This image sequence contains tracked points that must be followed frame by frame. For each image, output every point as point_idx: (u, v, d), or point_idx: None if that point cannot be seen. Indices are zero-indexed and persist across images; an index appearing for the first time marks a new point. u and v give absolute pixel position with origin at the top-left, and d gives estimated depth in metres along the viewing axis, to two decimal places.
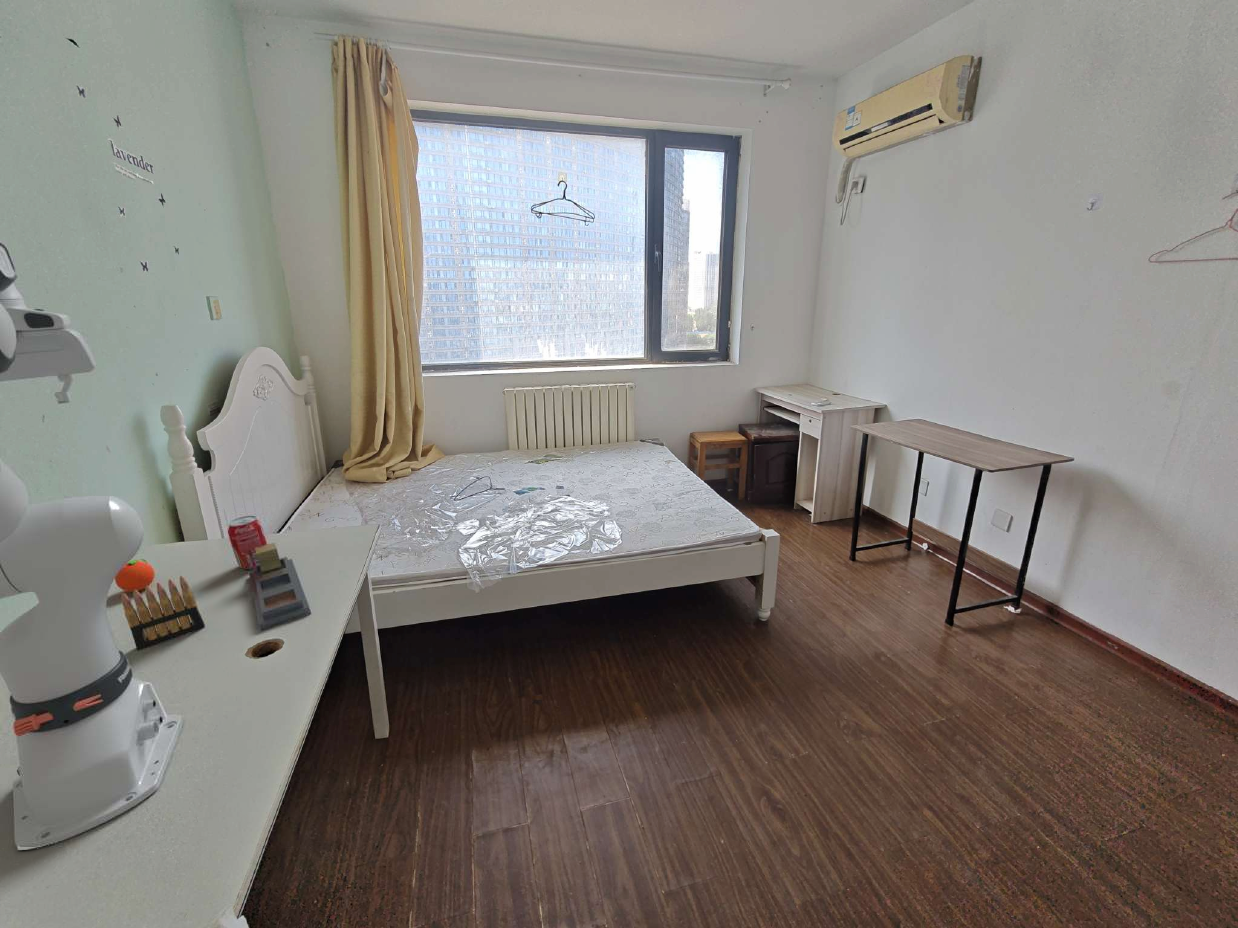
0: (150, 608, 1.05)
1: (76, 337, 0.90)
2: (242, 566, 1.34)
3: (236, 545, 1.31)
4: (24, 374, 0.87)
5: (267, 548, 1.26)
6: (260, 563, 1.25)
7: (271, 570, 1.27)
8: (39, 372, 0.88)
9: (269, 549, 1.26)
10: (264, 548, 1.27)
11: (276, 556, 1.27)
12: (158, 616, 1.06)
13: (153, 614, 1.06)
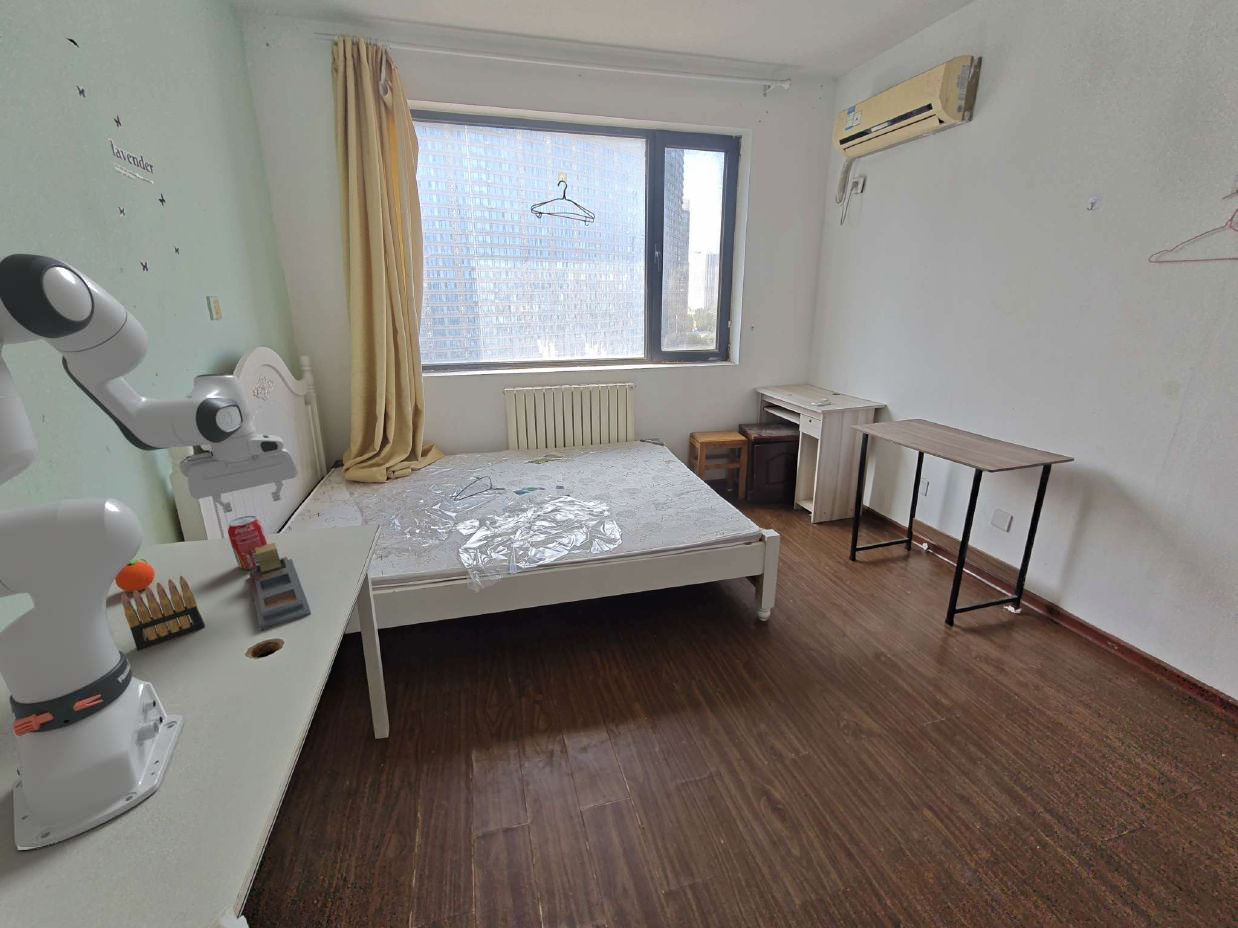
0: (150, 608, 1.05)
1: (289, 454, 1.24)
2: (242, 566, 1.34)
3: (236, 545, 1.31)
4: (256, 483, 1.21)
5: (267, 548, 1.26)
6: (260, 563, 1.25)
7: (271, 570, 1.27)
8: (264, 481, 1.22)
9: (269, 549, 1.26)
10: (264, 548, 1.27)
11: (276, 556, 1.27)
12: (158, 616, 1.06)
13: (153, 614, 1.06)
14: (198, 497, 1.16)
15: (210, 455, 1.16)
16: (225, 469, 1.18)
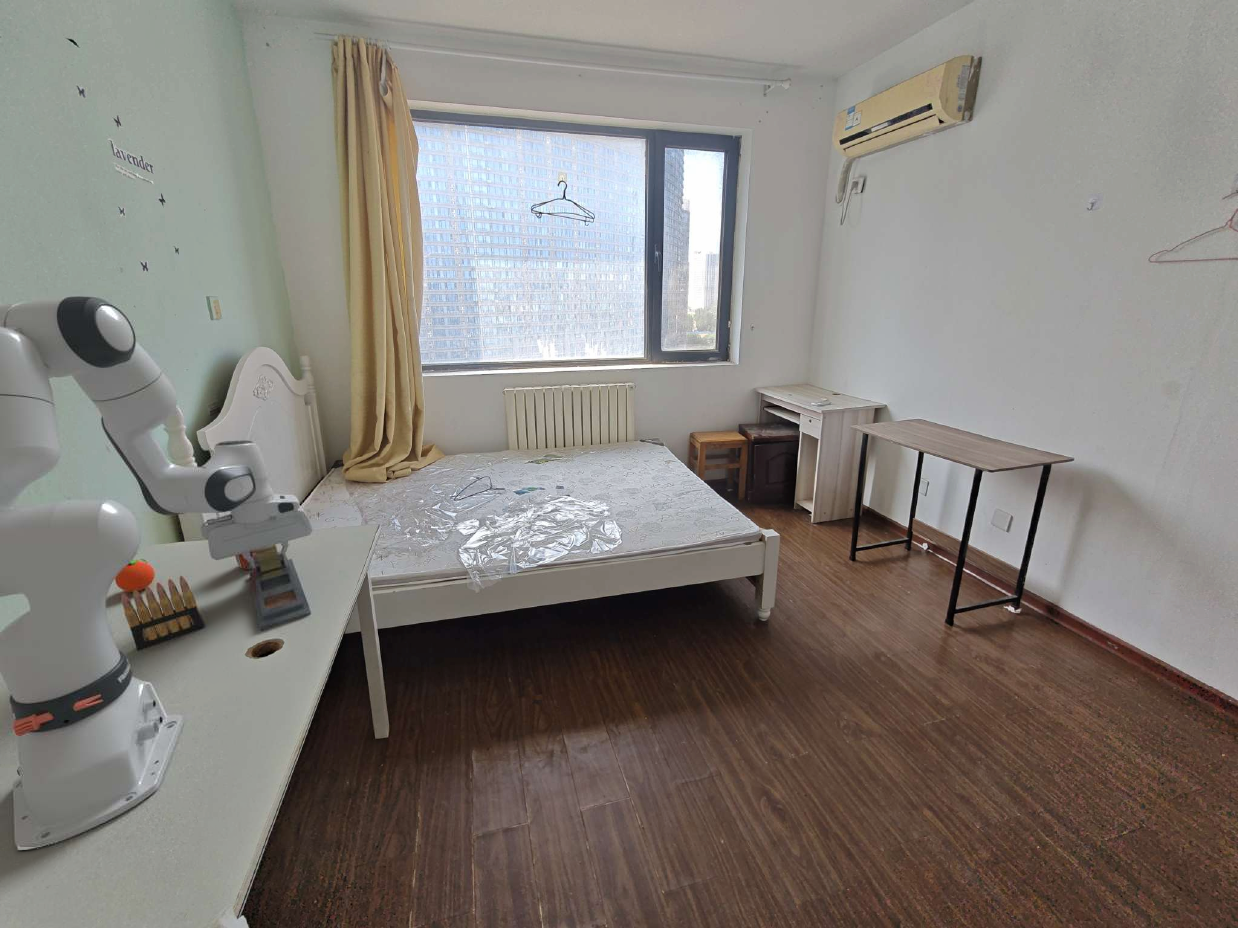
0: (150, 608, 1.05)
1: (305, 513, 1.28)
2: (242, 566, 1.34)
3: None
4: (273, 542, 1.26)
5: (267, 548, 1.26)
6: (260, 563, 1.25)
7: (271, 570, 1.27)
8: (281, 540, 1.27)
9: (269, 549, 1.26)
10: (264, 548, 1.27)
11: (276, 556, 1.27)
12: (158, 616, 1.06)
13: (153, 614, 1.06)
14: (218, 558, 1.20)
15: (229, 518, 1.21)
16: (244, 531, 1.22)
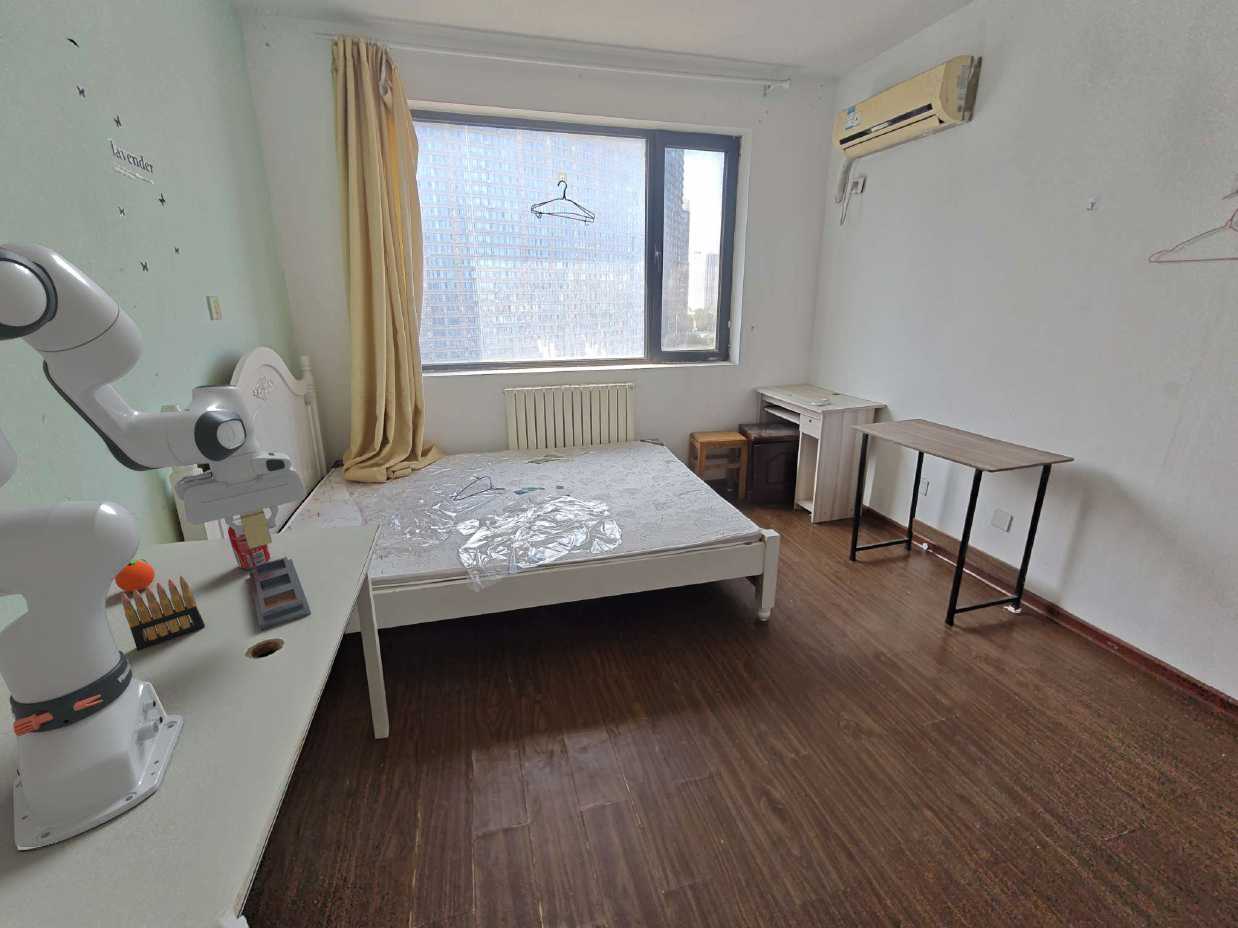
0: (150, 608, 1.05)
1: (297, 474, 1.12)
2: (242, 566, 1.34)
3: (236, 545, 1.31)
4: (260, 506, 1.09)
5: (253, 513, 1.10)
6: (245, 530, 1.08)
7: (258, 539, 1.10)
8: (270, 504, 1.10)
9: (256, 514, 1.09)
10: (250, 513, 1.10)
11: (264, 523, 1.10)
12: (158, 616, 1.06)
13: (153, 614, 1.06)
14: (195, 523, 1.03)
15: (209, 475, 1.04)
16: (226, 491, 1.05)
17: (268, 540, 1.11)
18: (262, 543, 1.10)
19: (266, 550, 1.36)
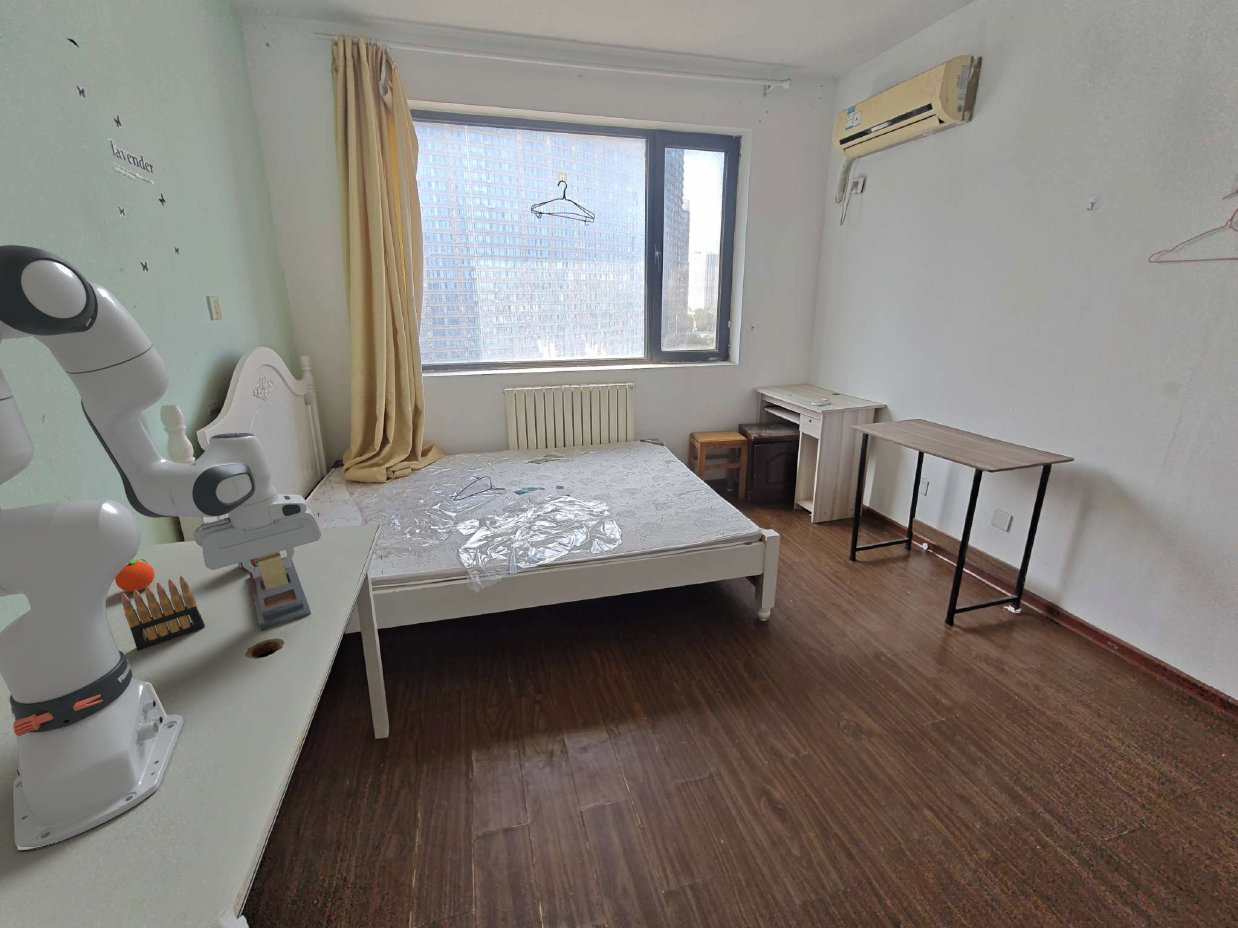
0: (150, 608, 1.05)
1: (313, 516, 1.13)
2: (242, 566, 1.34)
3: None
4: (276, 549, 1.11)
5: (270, 555, 1.11)
6: (262, 572, 1.10)
7: (274, 580, 1.12)
8: (286, 546, 1.11)
9: (272, 556, 1.11)
10: (266, 555, 1.11)
11: (280, 565, 1.12)
12: (158, 616, 1.06)
13: (153, 614, 1.06)
14: (214, 568, 1.05)
15: (227, 521, 1.05)
16: (243, 536, 1.07)
17: (284, 581, 1.13)
18: (278, 584, 1.12)
19: None
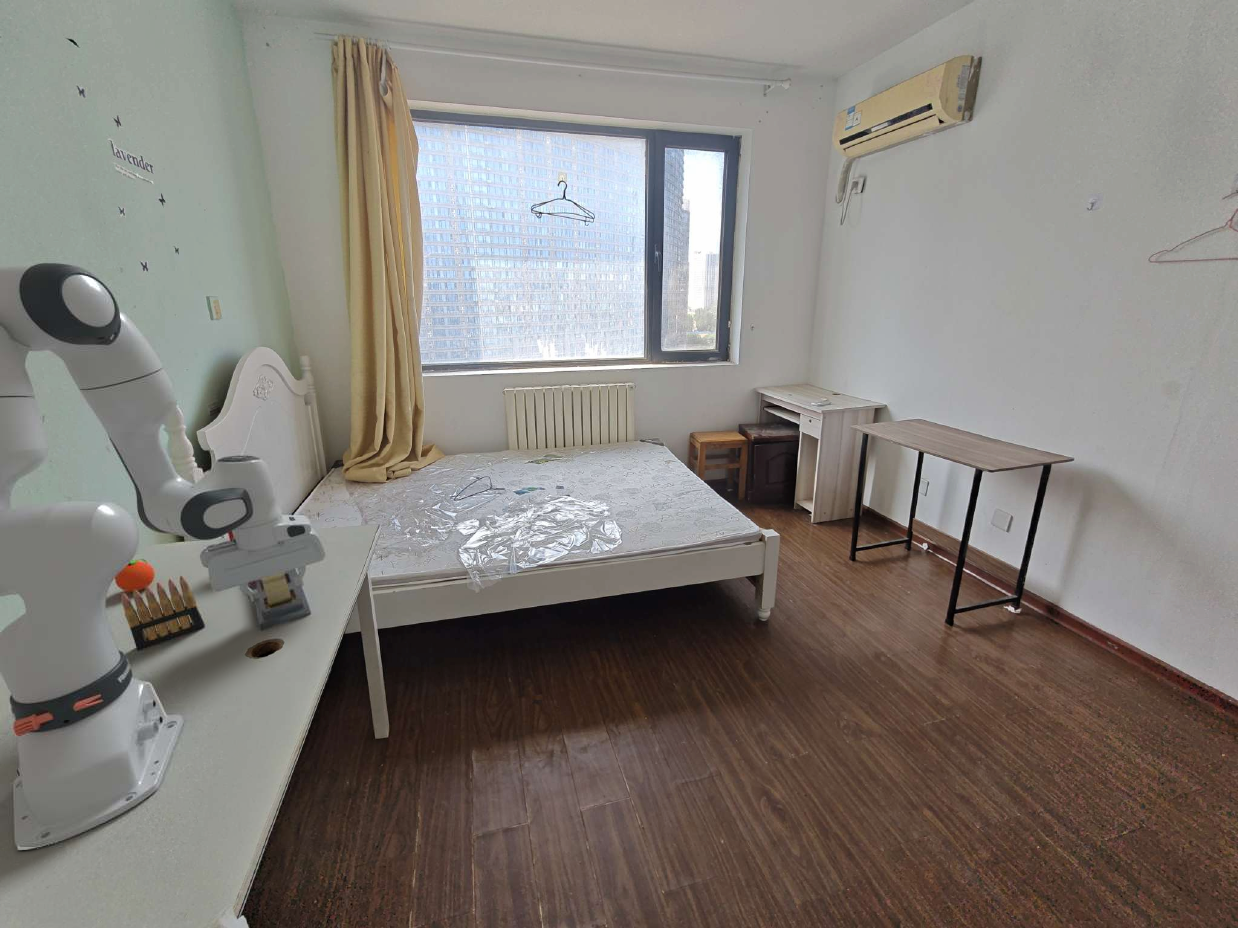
0: (150, 608, 1.05)
1: (317, 537, 1.14)
2: None
3: None
4: (281, 570, 1.12)
5: (275, 578, 1.13)
6: (267, 595, 1.11)
7: (279, 602, 1.13)
8: (290, 567, 1.13)
9: (277, 579, 1.12)
10: (272, 578, 1.13)
11: (285, 587, 1.13)
12: (158, 616, 1.06)
13: (153, 614, 1.06)
14: (220, 589, 1.06)
15: (233, 543, 1.07)
16: (249, 557, 1.08)
17: None
18: None
19: None
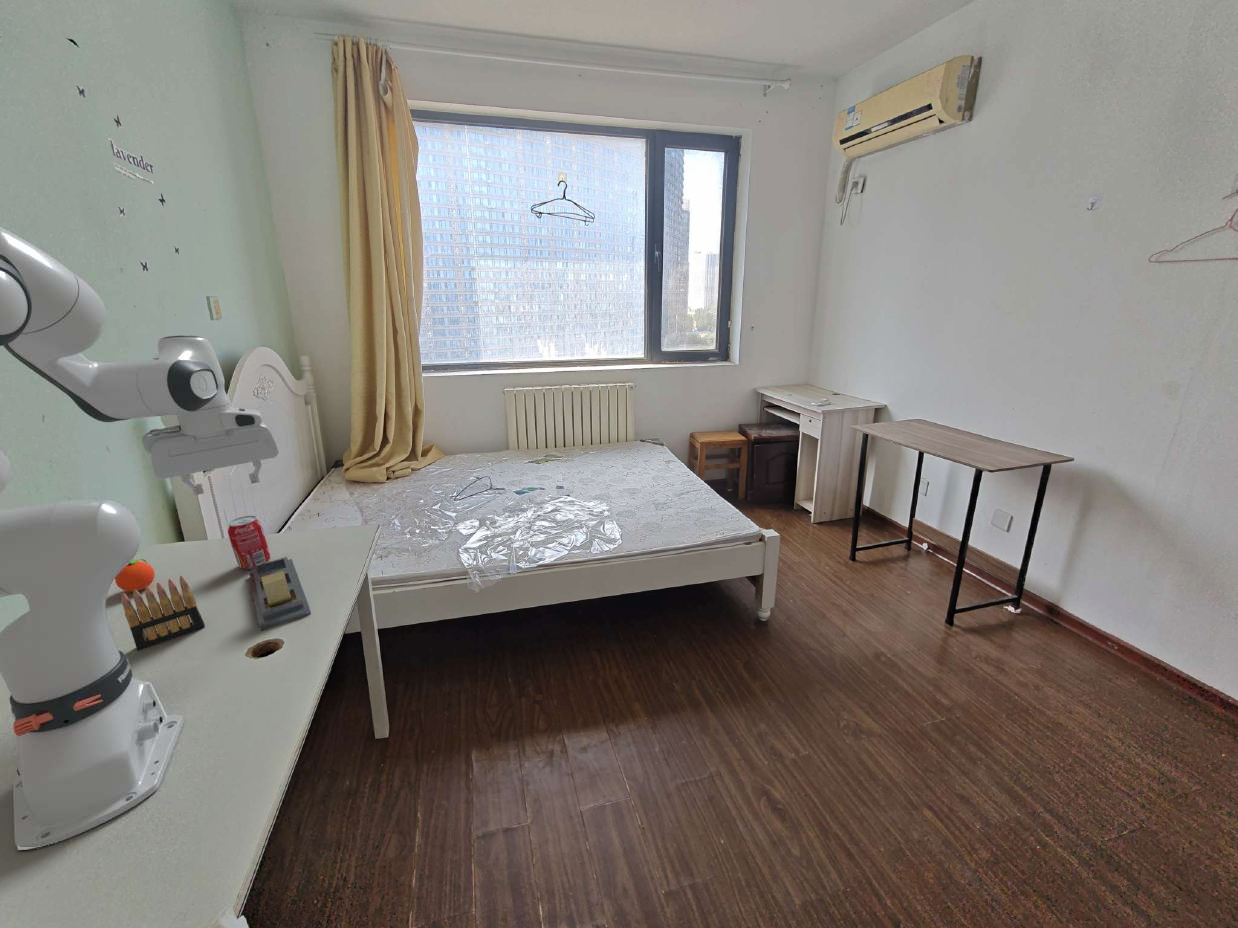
0: (150, 608, 1.05)
1: (268, 430, 1.10)
2: (242, 566, 1.34)
3: (236, 545, 1.31)
4: (230, 462, 1.08)
5: (275, 578, 1.13)
6: (267, 595, 1.11)
7: (279, 602, 1.13)
8: (240, 460, 1.08)
9: (277, 579, 1.12)
10: (272, 578, 1.13)
11: (285, 587, 1.13)
12: (158, 616, 1.06)
13: (153, 614, 1.06)
14: (163, 476, 1.02)
15: (177, 429, 1.03)
16: (195, 446, 1.04)
17: None
18: None
19: (266, 550, 1.36)
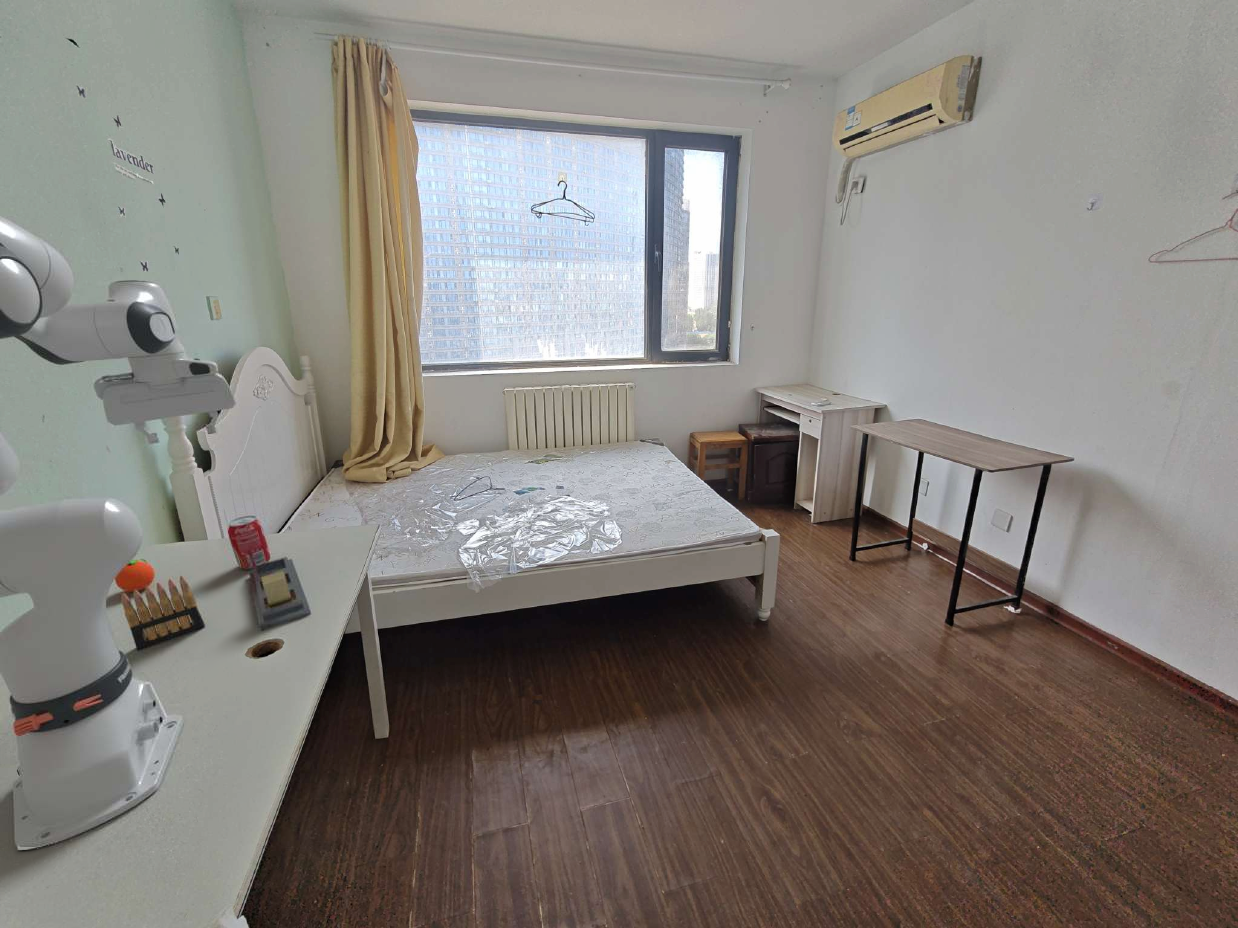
0: (150, 608, 1.05)
1: (224, 380, 1.10)
2: (242, 566, 1.34)
3: (236, 545, 1.31)
4: (185, 411, 1.08)
5: (275, 578, 1.13)
6: (267, 595, 1.11)
7: (279, 602, 1.13)
8: (196, 410, 1.09)
9: (277, 579, 1.12)
10: (272, 578, 1.13)
11: (285, 587, 1.13)
12: (158, 616, 1.06)
13: (153, 614, 1.06)
14: (116, 423, 1.02)
15: (130, 376, 1.03)
16: (148, 393, 1.04)
17: None
18: None
19: (266, 550, 1.36)
